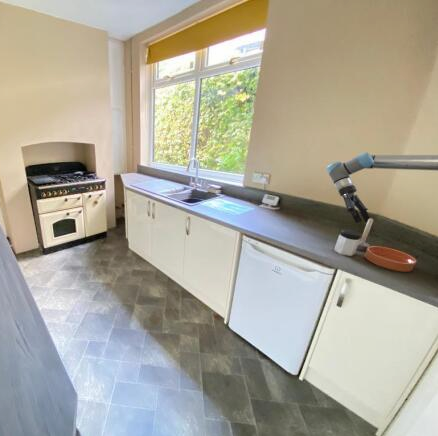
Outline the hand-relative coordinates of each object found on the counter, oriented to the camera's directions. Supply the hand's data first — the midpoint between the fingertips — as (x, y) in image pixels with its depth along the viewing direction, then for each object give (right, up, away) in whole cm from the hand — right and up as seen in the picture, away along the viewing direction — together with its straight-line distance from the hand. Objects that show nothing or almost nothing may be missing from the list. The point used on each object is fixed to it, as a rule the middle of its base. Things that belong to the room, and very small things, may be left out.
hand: (364, 222), depth 127 cm
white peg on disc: (+3, -15, +5) cm, 16 cm away
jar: (-10, -17, +1) cm, 20 cm away
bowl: (+3, -20, -9) cm, 23 cm away
